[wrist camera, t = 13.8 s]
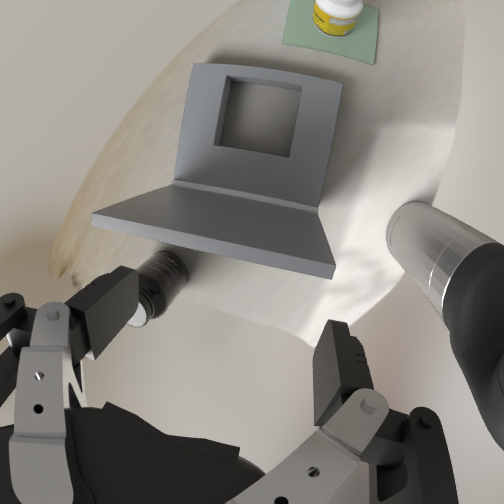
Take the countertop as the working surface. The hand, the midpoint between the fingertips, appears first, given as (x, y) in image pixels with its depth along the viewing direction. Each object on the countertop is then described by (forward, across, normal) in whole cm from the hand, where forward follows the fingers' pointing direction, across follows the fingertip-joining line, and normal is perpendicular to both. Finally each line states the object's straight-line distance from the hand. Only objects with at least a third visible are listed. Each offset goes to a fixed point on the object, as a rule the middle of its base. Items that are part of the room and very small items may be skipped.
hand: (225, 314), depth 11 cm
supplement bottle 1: (+26, +13, +14) cm, 33 cm away
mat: (+26, -3, -26) cm, 37 cm away
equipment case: (+26, +4, -8) cm, 28 cm away
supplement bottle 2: (+26, -3, -26) cm, 37 cm away
